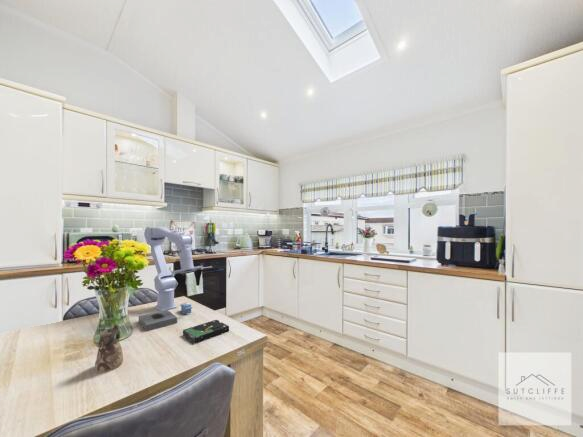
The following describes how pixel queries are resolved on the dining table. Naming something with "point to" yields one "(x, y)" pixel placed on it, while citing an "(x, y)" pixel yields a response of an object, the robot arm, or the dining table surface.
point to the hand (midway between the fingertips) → (190, 287)
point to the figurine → (109, 351)
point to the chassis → (157, 320)
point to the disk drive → (205, 331)
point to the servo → (186, 308)
